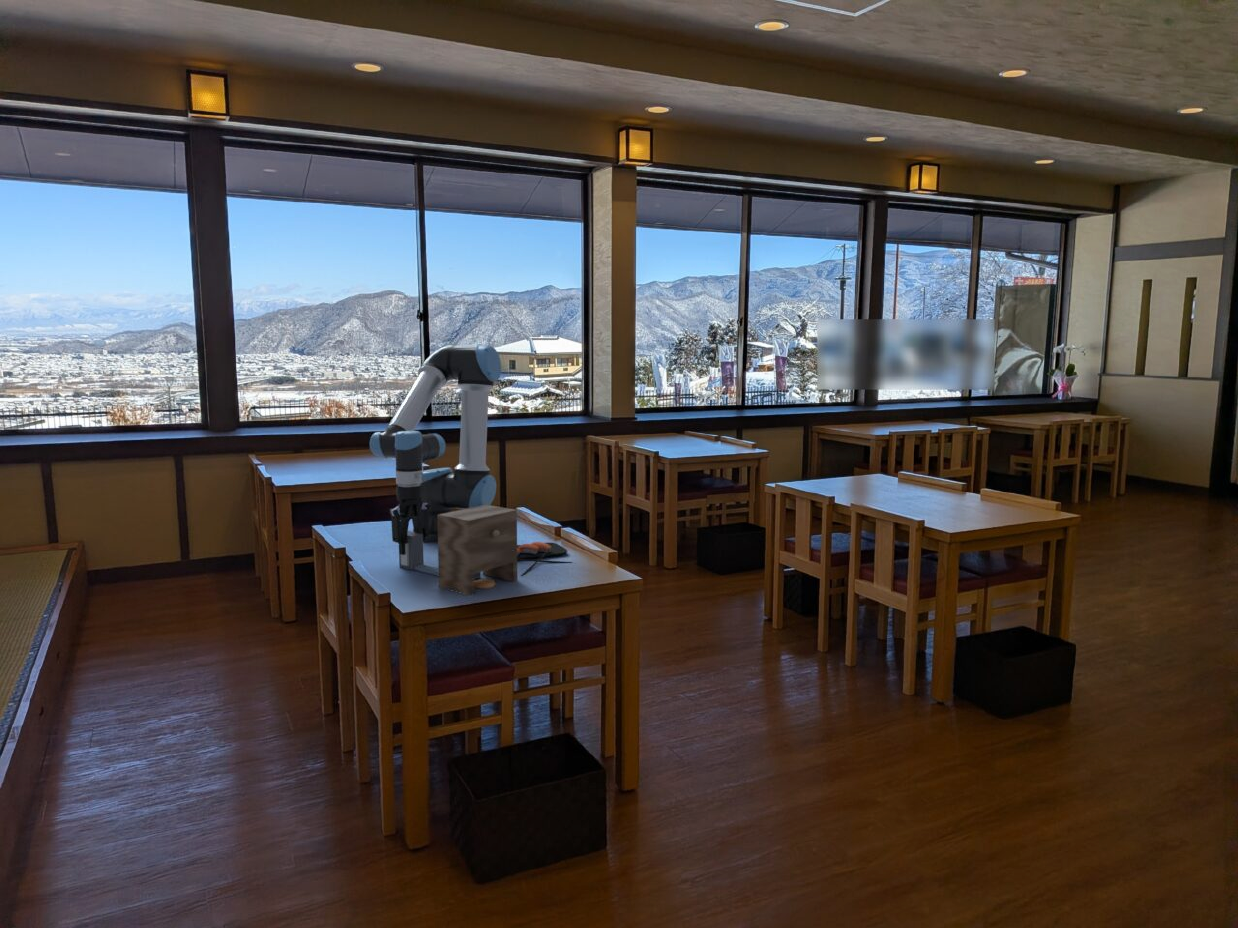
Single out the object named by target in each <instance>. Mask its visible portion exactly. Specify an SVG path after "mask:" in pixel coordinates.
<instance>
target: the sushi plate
mask: <svg viewBox="0 0 1238 928" xmlns="http://www.w3.org/2000/svg"><path fill="white" fill-rule="evenodd" d="M567 553H568V549H566V548H565V547H563V546H562V545H559V544H558V543H556V542H540V541H535V542H531V543H524V544H517V561H522V562H534V563H533V564H532V565H531V566H530V567H528V568H527V569H526V570H525V571H524V572H523V573H522V574H521V575H520V576H521V577H524V576H523V575H527V574H528V573H529V572H530V571H531V570H532V569H533V568H534V566H536V564H538V563H547V562H548V563H550V564H573V563H572V562H573V561H563V560H562V561H560V560H542V559H543V558H544V557H545V558H546V557H551V556H558V555H564V554H567ZM533 558H538V559H533ZM528 571H529V572H528ZM527 572H528V573H527Z"/></svg>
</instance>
